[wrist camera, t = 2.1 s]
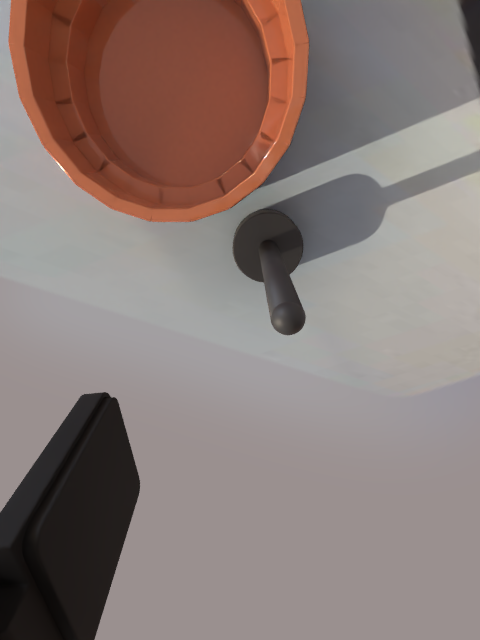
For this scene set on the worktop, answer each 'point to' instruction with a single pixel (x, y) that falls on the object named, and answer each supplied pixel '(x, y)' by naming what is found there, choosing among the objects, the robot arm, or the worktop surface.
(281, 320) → the grey disc stick
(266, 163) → the bowl
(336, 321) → the worktop surface
